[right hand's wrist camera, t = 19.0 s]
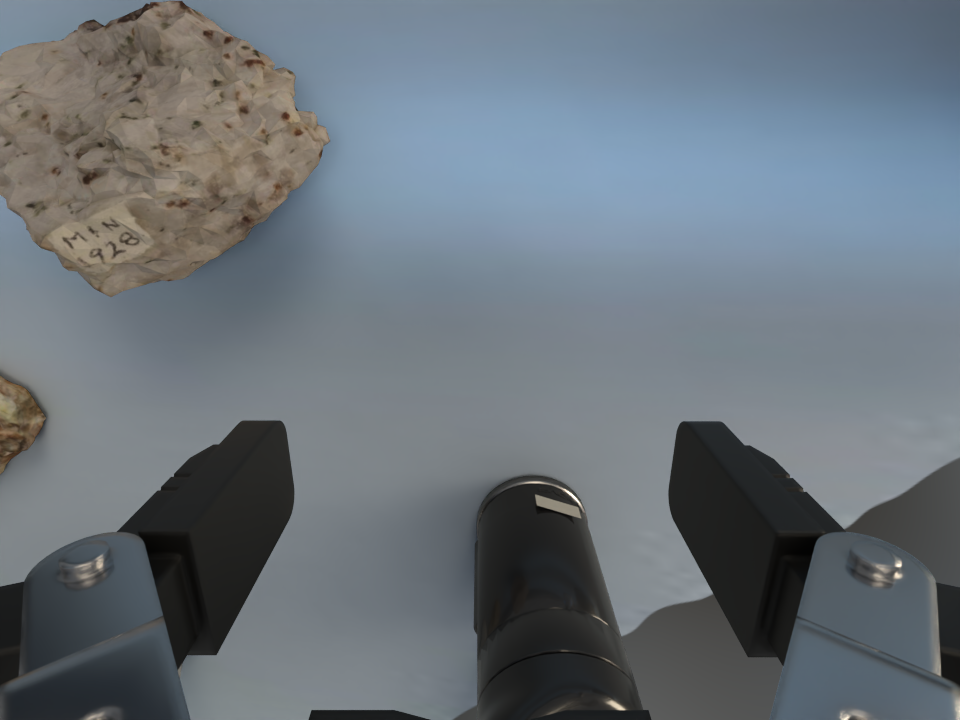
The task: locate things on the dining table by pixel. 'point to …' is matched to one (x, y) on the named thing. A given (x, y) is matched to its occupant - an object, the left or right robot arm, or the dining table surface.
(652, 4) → the dining table surface
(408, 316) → the dining table surface
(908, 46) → the dining table surface
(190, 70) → the rock
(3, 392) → the stone
